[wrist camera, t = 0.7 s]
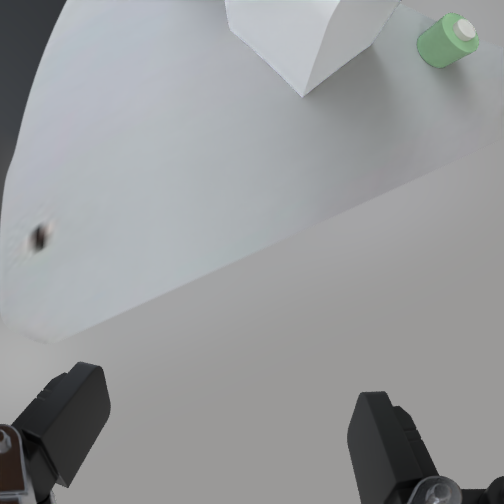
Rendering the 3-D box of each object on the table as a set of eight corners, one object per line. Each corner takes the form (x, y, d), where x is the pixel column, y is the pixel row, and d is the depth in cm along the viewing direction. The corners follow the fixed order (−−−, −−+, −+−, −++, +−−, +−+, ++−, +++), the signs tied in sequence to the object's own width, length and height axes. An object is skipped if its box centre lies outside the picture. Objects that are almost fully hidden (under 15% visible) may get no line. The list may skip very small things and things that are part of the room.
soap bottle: (415, 29, 29) (444, 2, 21) (447, 39, 29) (480, 17, 20) (418, 63, 30) (451, 41, 22) (451, 72, 30) (488, 54, 22)
